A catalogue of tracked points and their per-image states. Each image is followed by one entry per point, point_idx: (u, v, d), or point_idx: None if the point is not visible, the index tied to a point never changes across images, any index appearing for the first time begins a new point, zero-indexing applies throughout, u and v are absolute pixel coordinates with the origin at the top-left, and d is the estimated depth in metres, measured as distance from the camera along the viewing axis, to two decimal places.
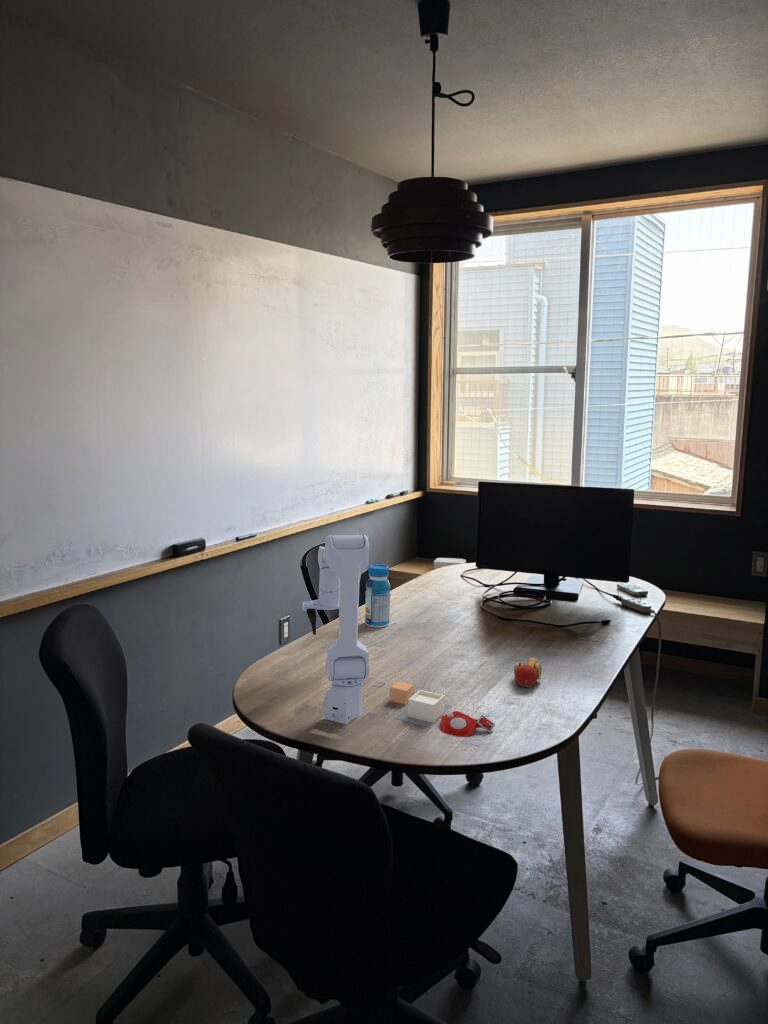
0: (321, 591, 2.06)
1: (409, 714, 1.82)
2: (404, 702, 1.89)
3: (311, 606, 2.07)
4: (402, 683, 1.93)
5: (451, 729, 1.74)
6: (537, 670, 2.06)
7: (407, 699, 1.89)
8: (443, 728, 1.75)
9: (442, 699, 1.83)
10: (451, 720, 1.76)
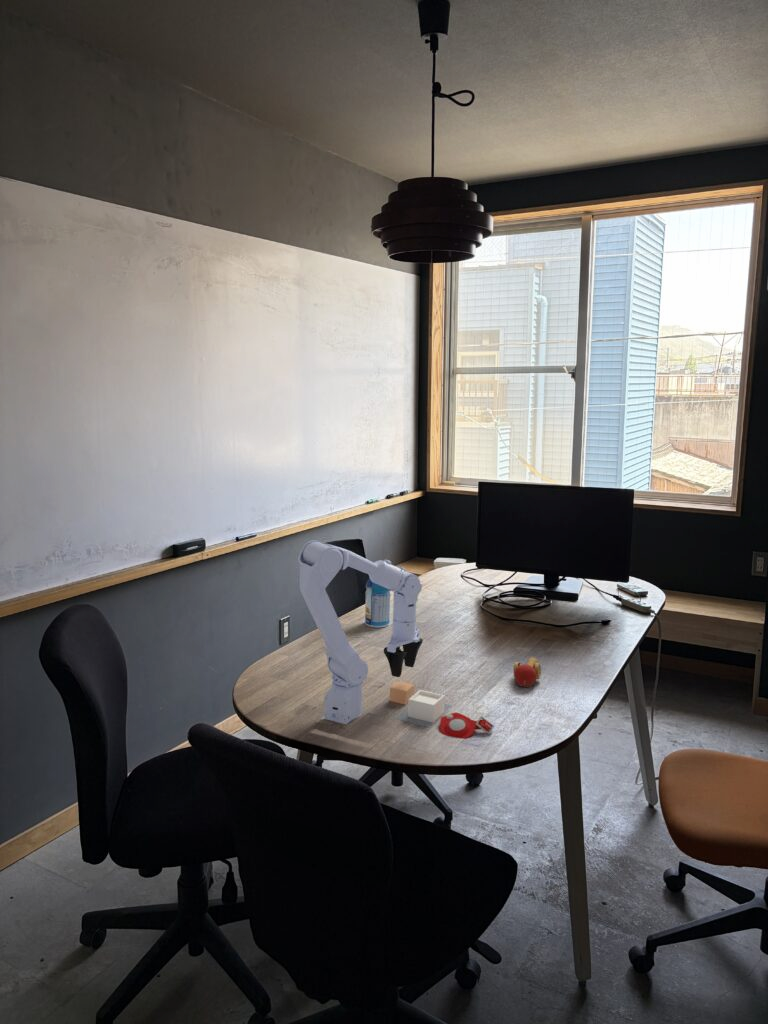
0: None
1: (409, 714, 1.82)
2: (404, 702, 1.89)
3: None
4: (402, 683, 1.93)
5: (450, 730, 1.73)
6: (536, 670, 2.06)
7: (407, 699, 1.89)
8: (442, 729, 1.75)
9: (442, 699, 1.83)
10: (450, 721, 1.75)
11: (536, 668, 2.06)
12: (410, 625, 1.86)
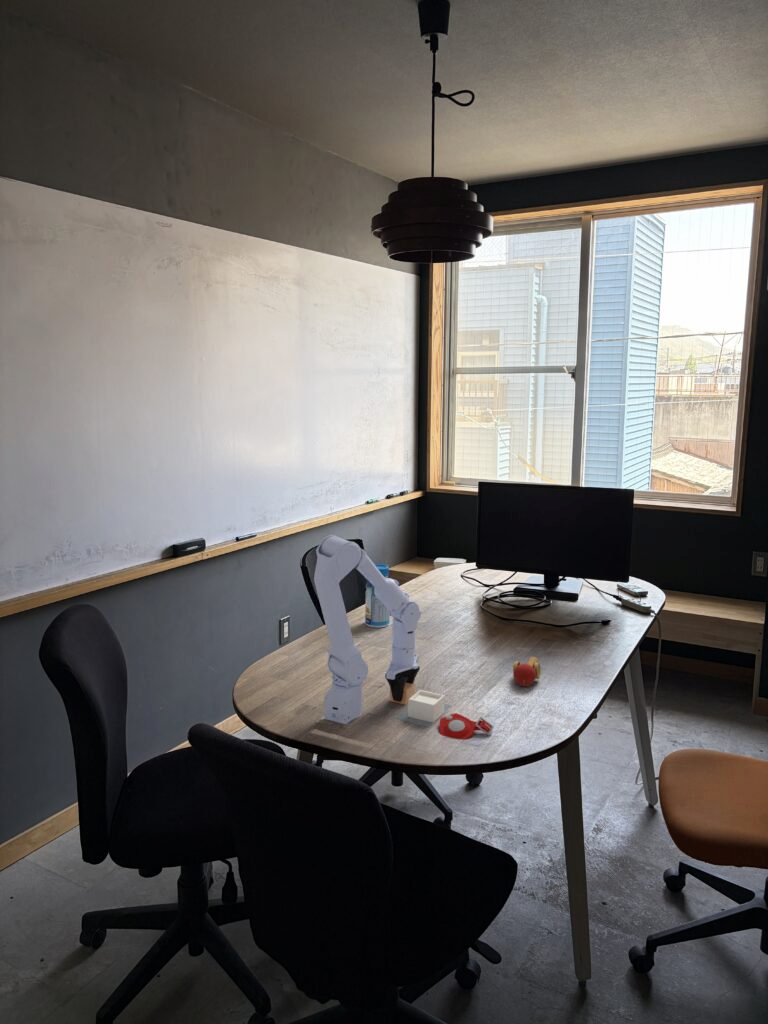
0: None
1: (409, 714, 1.82)
2: (404, 702, 1.89)
3: None
4: None
5: (450, 731, 1.73)
6: (536, 669, 2.06)
7: (407, 699, 1.89)
8: (441, 730, 1.74)
9: (442, 699, 1.83)
10: (449, 722, 1.75)
11: (536, 668, 2.06)
12: (409, 652, 1.87)
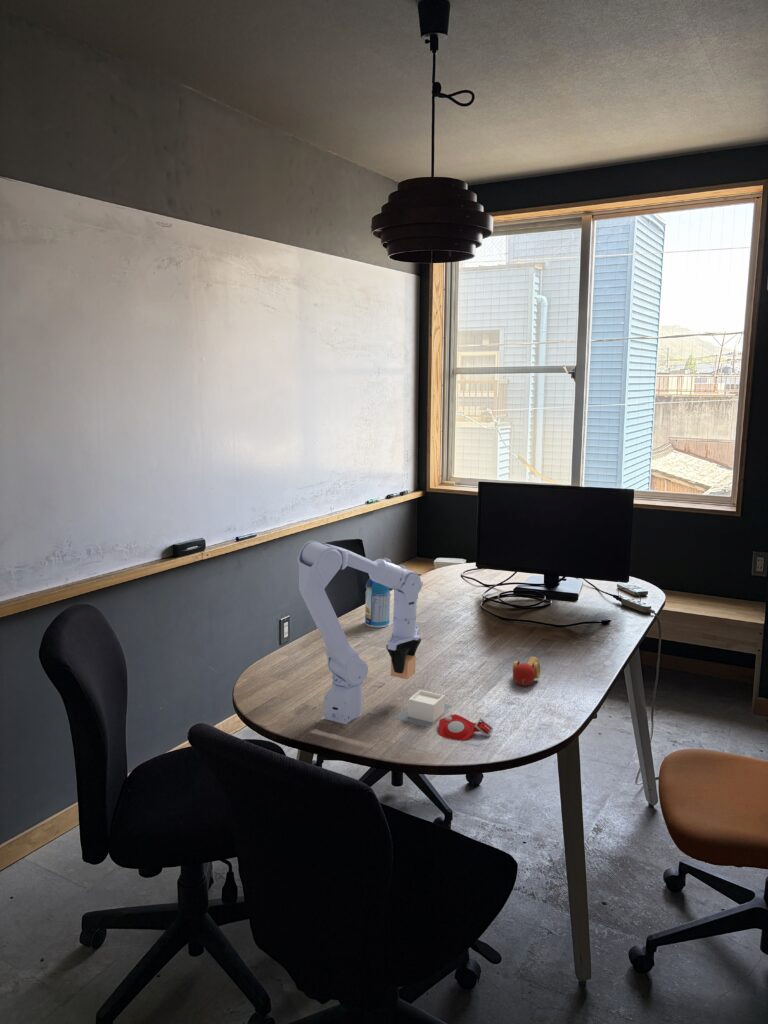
0: None
1: (409, 714, 1.82)
2: (405, 674, 1.88)
3: None
4: None
5: (449, 732, 1.72)
6: (535, 669, 2.06)
7: (408, 670, 1.88)
8: (440, 731, 1.73)
9: (442, 699, 1.83)
10: (449, 723, 1.74)
11: (535, 667, 2.07)
12: (410, 623, 1.86)
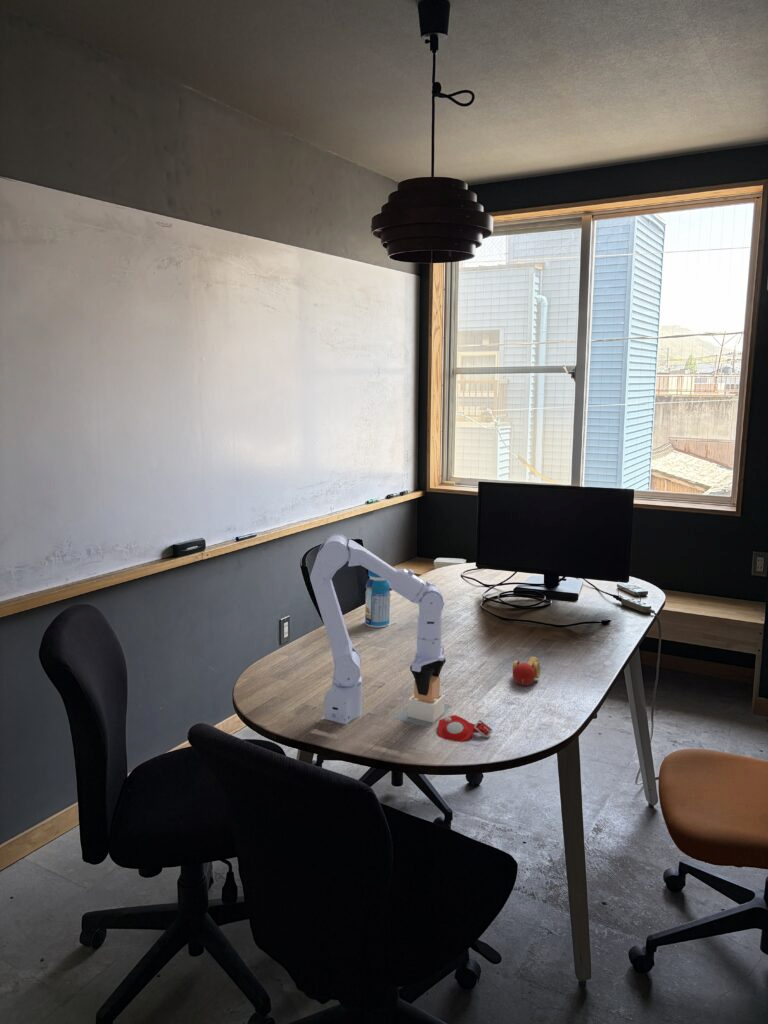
0: None
1: (409, 714, 1.82)
2: (430, 696, 1.80)
3: None
4: None
5: (448, 733, 1.72)
6: (535, 669, 2.07)
7: (433, 692, 1.80)
8: (440, 732, 1.73)
9: (442, 699, 1.83)
10: (448, 724, 1.74)
11: (535, 667, 2.07)
12: (435, 643, 1.78)
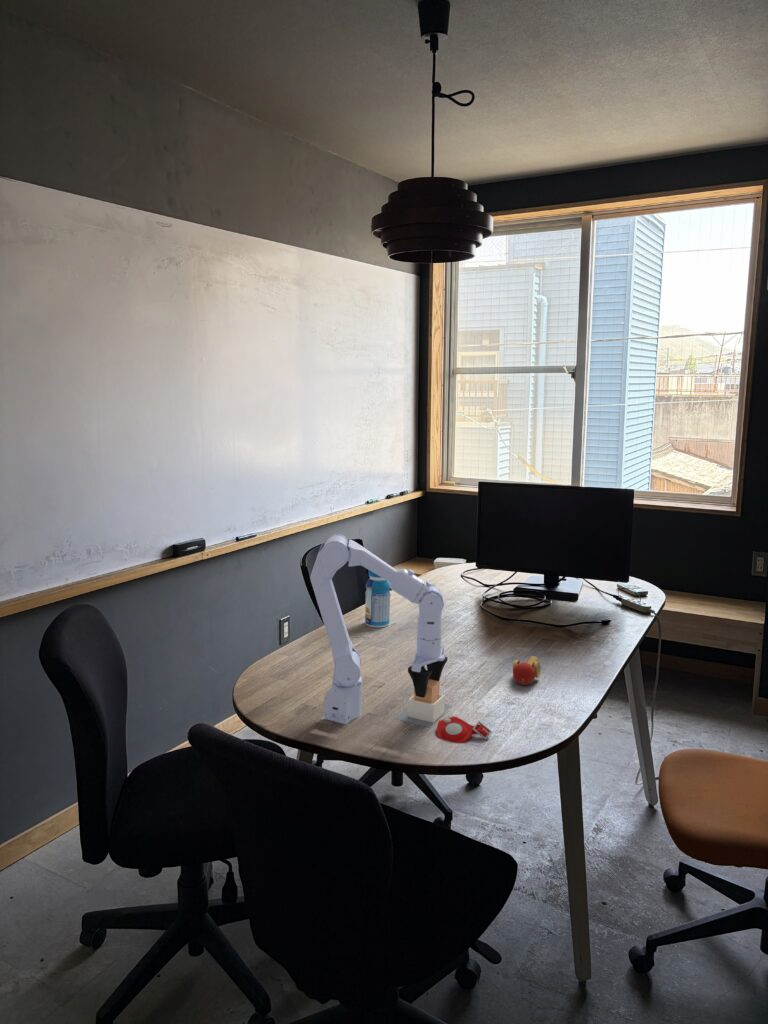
0: None
1: (409, 714, 1.82)
2: (429, 700, 1.80)
3: None
4: None
5: (446, 734, 1.71)
6: (535, 668, 2.07)
7: (433, 696, 1.80)
8: (438, 733, 1.73)
9: (442, 699, 1.83)
10: (447, 725, 1.73)
11: (535, 666, 2.07)
12: (435, 643, 1.78)
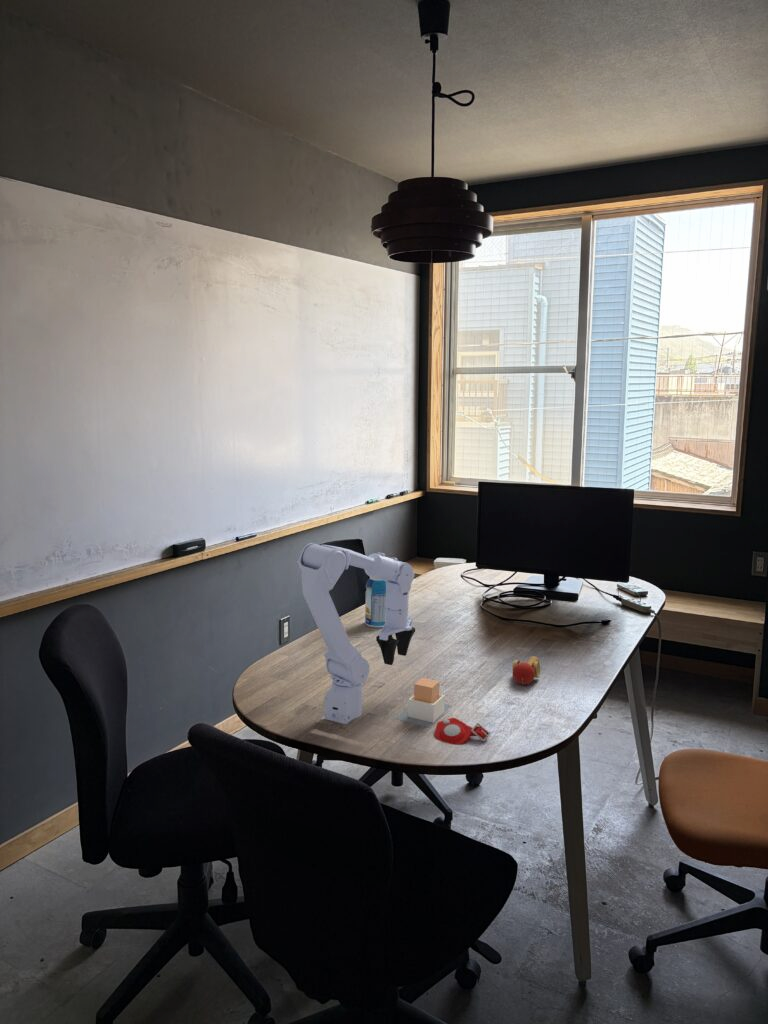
0: None
1: (409, 714, 1.82)
2: (429, 700, 1.80)
3: None
4: (427, 680, 1.84)
5: (444, 735, 1.70)
6: (535, 668, 2.07)
7: (433, 696, 1.80)
8: (436, 734, 1.72)
9: (442, 699, 1.83)
10: (445, 726, 1.73)
11: (535, 666, 2.07)
12: (402, 613, 1.88)
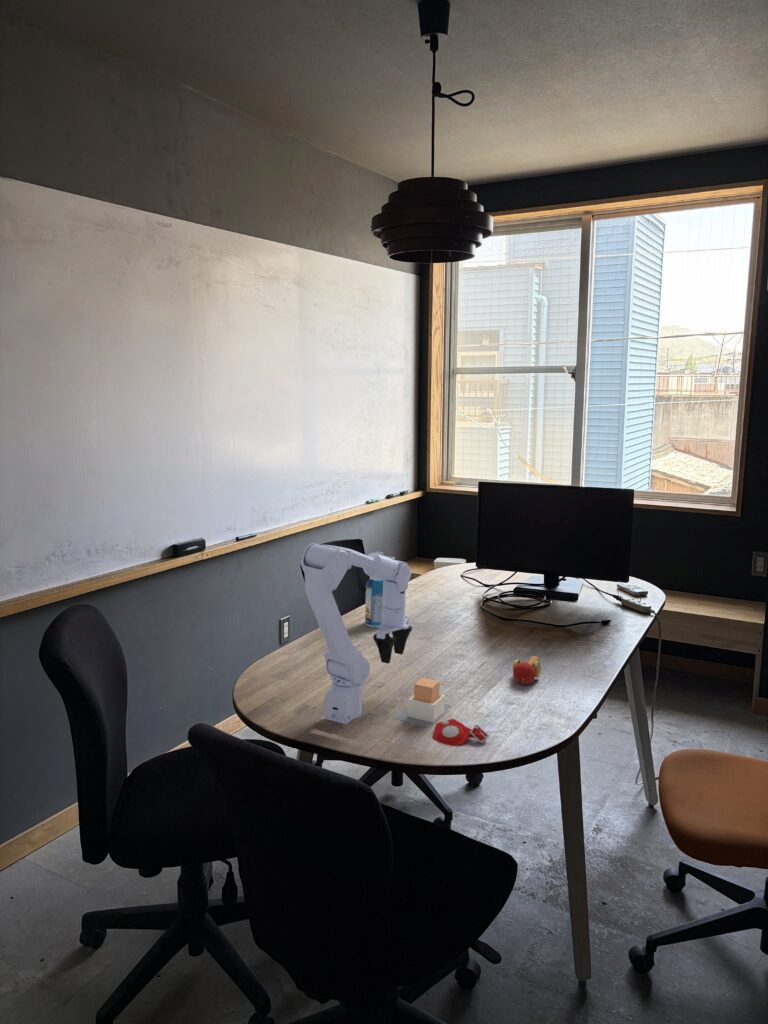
0: None
1: (409, 714, 1.82)
2: (429, 700, 1.80)
3: None
4: (427, 680, 1.84)
5: (442, 737, 1.70)
6: (535, 668, 2.07)
7: (433, 696, 1.80)
8: (435, 735, 1.71)
9: (442, 699, 1.83)
10: (444, 728, 1.72)
11: (535, 666, 2.08)
12: (399, 612, 1.89)
